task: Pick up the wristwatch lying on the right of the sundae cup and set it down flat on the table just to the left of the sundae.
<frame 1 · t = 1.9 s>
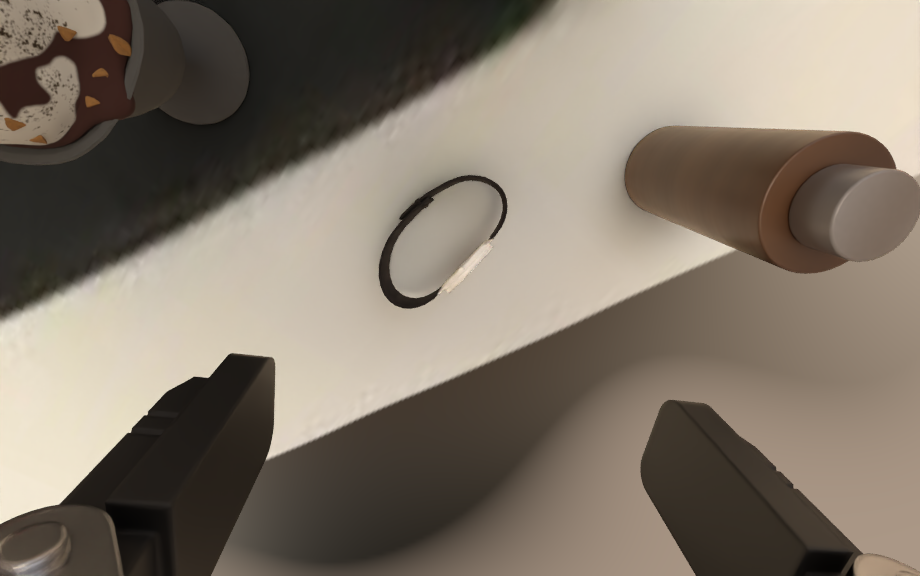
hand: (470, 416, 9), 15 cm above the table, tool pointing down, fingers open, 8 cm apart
watch: (440, 234, 24), on the table
pepper mill: (666, 171, 23), on the table
sundae: (195, 66, 20), on the table
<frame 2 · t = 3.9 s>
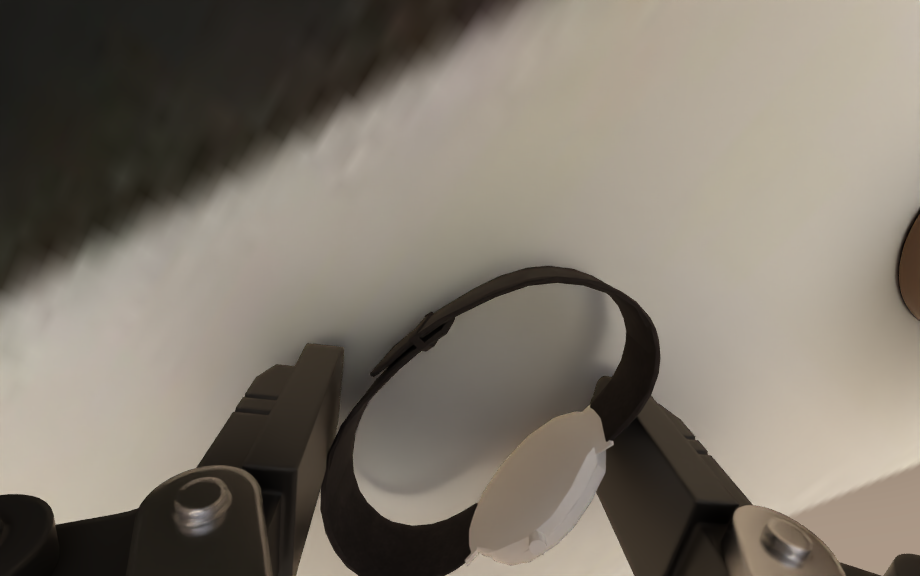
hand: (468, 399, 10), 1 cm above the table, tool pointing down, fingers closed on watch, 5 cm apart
watch: (469, 381, 11), on the table, touching gripper
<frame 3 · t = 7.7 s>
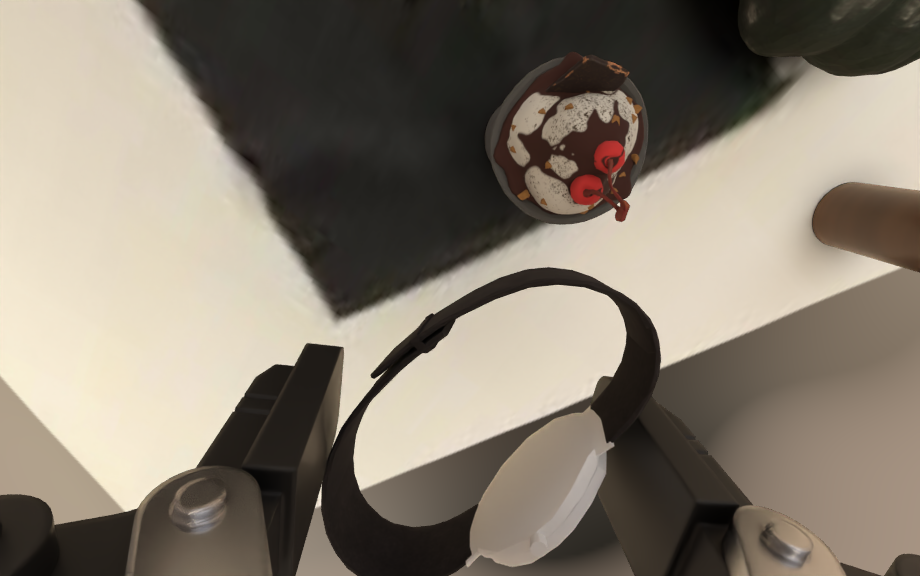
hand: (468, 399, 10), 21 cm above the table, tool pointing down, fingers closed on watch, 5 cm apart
watch: (469, 382, 11), point 20 cm above the table, touching gripper
pepper mill: (843, 214, 31), on the table
sundae: (523, 139, 28), on the table
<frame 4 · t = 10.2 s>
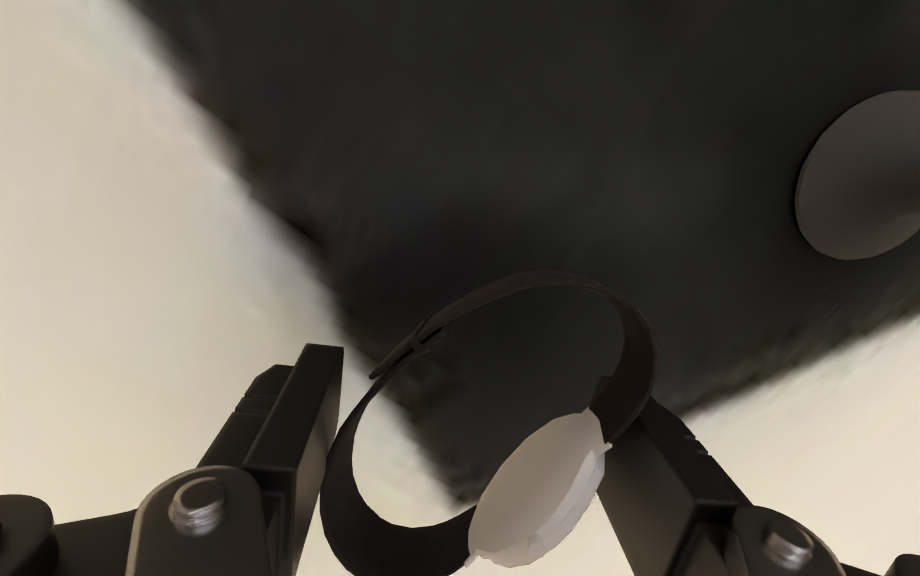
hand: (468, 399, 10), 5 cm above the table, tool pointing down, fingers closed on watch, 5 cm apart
watch: (468, 383, 11), point 4 cm above the table, touching gripper
sundae: (868, 180, 14), on the table
when the fingers open (0 cm above the table, at t = 11.8 s): watch stays where it is, on the table.
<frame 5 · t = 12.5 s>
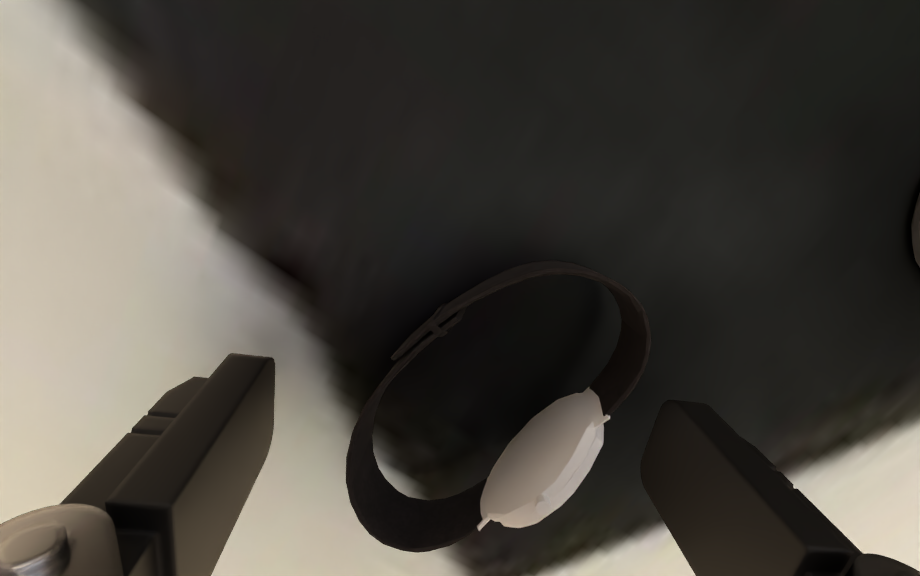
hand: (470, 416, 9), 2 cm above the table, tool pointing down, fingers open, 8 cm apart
watch: (478, 367, 11), on the table
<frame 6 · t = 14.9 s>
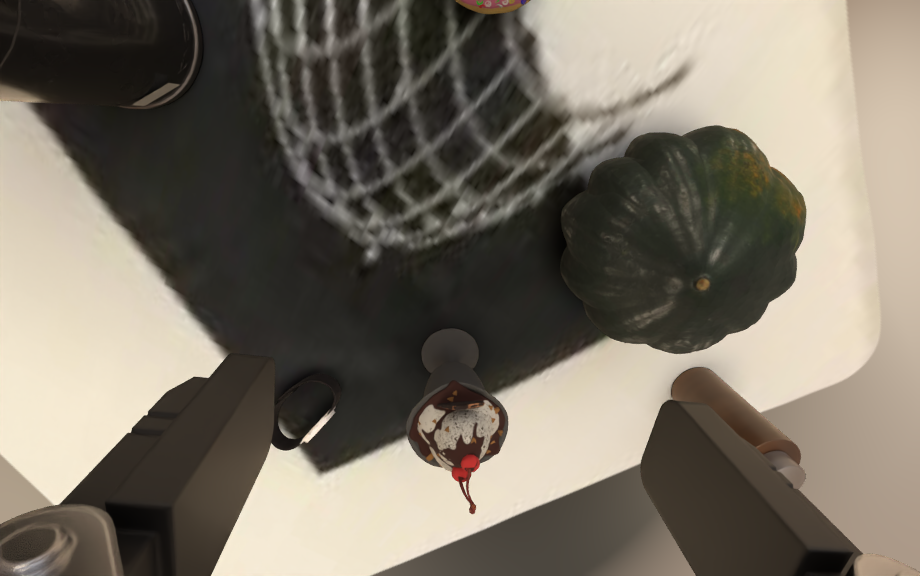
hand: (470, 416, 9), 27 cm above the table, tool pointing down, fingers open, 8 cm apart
watch: (308, 400, 40), on the table
pepper mill: (694, 387, 42), on the table
sundae: (450, 353, 39), on the table
squash: (633, 225, 36), on the table
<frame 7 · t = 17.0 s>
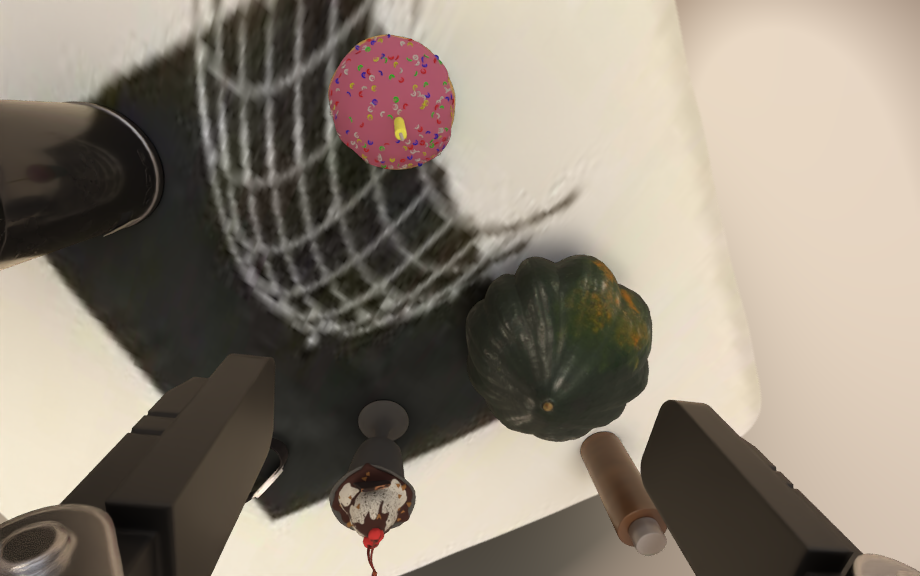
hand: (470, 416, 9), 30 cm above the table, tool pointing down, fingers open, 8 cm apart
watch: (260, 459, 46), on the table
pepper mill: (600, 448, 48), on the table
cupcake: (397, 107, 35), on the table
sundae: (384, 420, 45), on the table
squash: (538, 317, 42), on the table
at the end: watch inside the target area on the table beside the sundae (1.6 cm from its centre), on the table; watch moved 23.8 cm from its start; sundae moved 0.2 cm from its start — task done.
